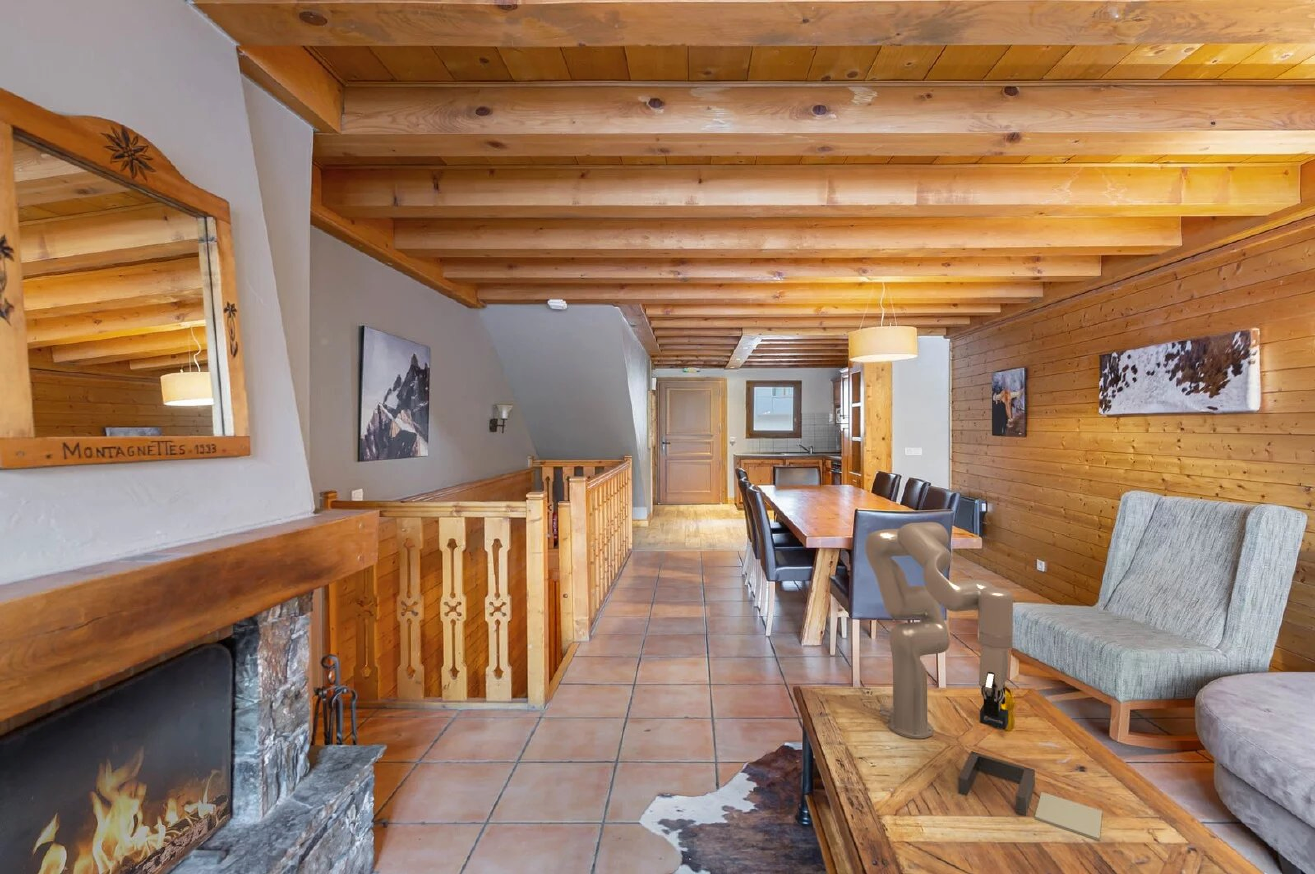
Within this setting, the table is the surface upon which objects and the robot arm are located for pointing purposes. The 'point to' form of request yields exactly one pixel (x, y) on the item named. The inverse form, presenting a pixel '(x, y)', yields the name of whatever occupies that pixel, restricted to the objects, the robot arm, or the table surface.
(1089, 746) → the table surface
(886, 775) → the table surface
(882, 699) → the table surface
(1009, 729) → the figure statuette
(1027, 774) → the u-shaped metal bracket
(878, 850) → the table surface
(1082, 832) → the sage mat
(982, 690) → the watch
